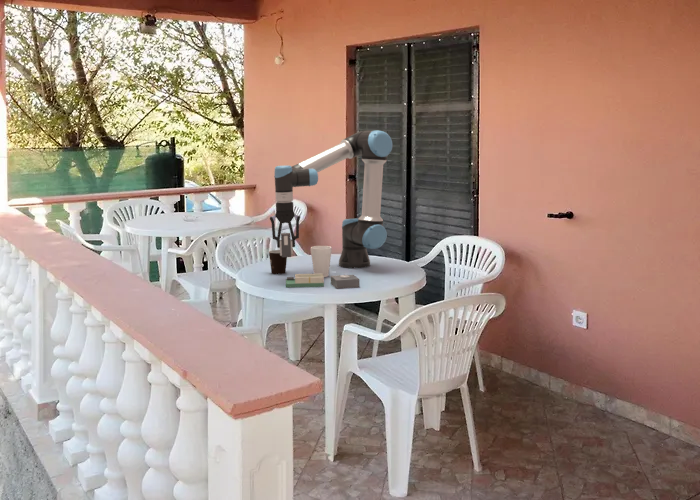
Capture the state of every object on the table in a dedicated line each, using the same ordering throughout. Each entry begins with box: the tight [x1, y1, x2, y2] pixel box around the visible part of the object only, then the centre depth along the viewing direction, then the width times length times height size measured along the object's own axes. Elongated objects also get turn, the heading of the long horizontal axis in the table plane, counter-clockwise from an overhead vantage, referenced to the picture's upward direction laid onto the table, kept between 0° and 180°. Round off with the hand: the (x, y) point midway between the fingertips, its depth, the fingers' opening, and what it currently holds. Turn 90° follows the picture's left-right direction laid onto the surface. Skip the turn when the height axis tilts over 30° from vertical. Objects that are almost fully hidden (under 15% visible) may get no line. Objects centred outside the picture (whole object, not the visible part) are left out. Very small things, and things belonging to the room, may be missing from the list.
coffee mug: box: [268, 249, 288, 275], centre depth 349 cm, size 12×9×10 cm
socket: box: [294, 273, 325, 284], centre depth 321 cm, size 12×8×2 cm, turn 95°
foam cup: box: [310, 245, 333, 278], centre depth 340 cm, size 10×9×13 cm
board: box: [285, 276, 325, 288], centre depth 323 cm, size 16×11×2 cm
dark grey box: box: [330, 274, 360, 290], centre depth 320 cm, size 10×10×4 cm
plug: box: [280, 232, 292, 258], centre depth 329 cm, size 4×5×10 cm
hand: (286, 254), depth 330 cm, fingers closed on plug, 4 cm apart
